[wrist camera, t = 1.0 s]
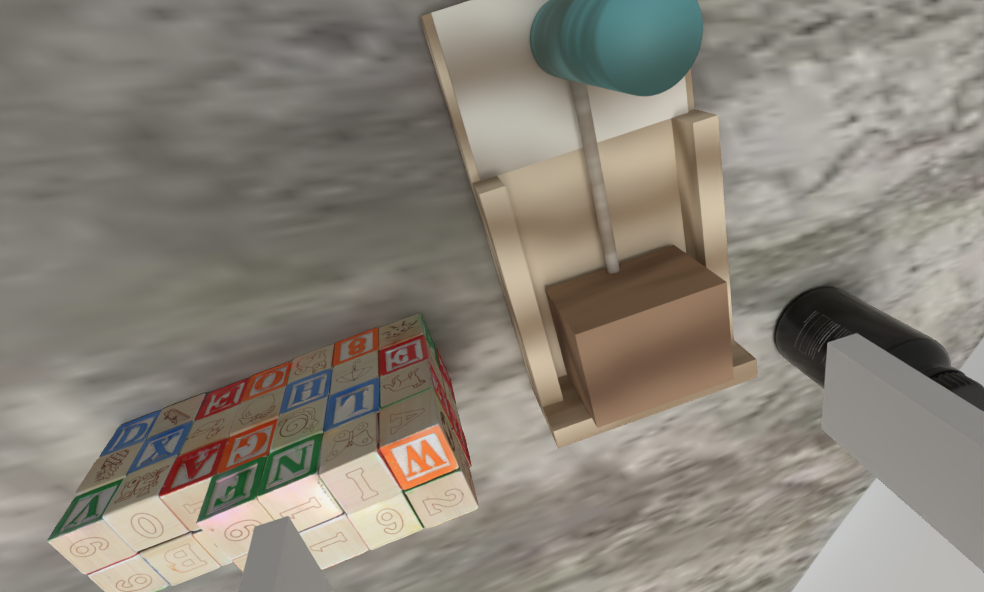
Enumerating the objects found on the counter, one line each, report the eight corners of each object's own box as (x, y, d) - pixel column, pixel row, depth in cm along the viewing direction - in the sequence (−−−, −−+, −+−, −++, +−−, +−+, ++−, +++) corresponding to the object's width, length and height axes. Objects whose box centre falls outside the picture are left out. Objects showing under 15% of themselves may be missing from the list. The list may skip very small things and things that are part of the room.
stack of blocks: (173, 486, 38) (92, 664, 28) (118, 423, 36) (4, 594, 25) (453, 379, 39) (482, 512, 28) (422, 308, 36) (441, 426, 25)
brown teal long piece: (475, 22, 27) (522, 15, 18) (640, -31, 28) (763, -62, 19) (566, 373, 38) (624, 475, 29) (684, 331, 38) (776, 420, 30)
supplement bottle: (786, 374, 45) (912, 478, 34) (760, 318, 42) (890, 414, 31) (859, 327, 44) (1010, 419, 34) (838, 267, 41) (997, 348, 31)
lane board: (419, 16, 28) (430, 12, 23) (665, -61, 29) (735, -85, 23) (532, 389, 41) (558, 448, 35) (704, 329, 41) (757, 377, 35)
